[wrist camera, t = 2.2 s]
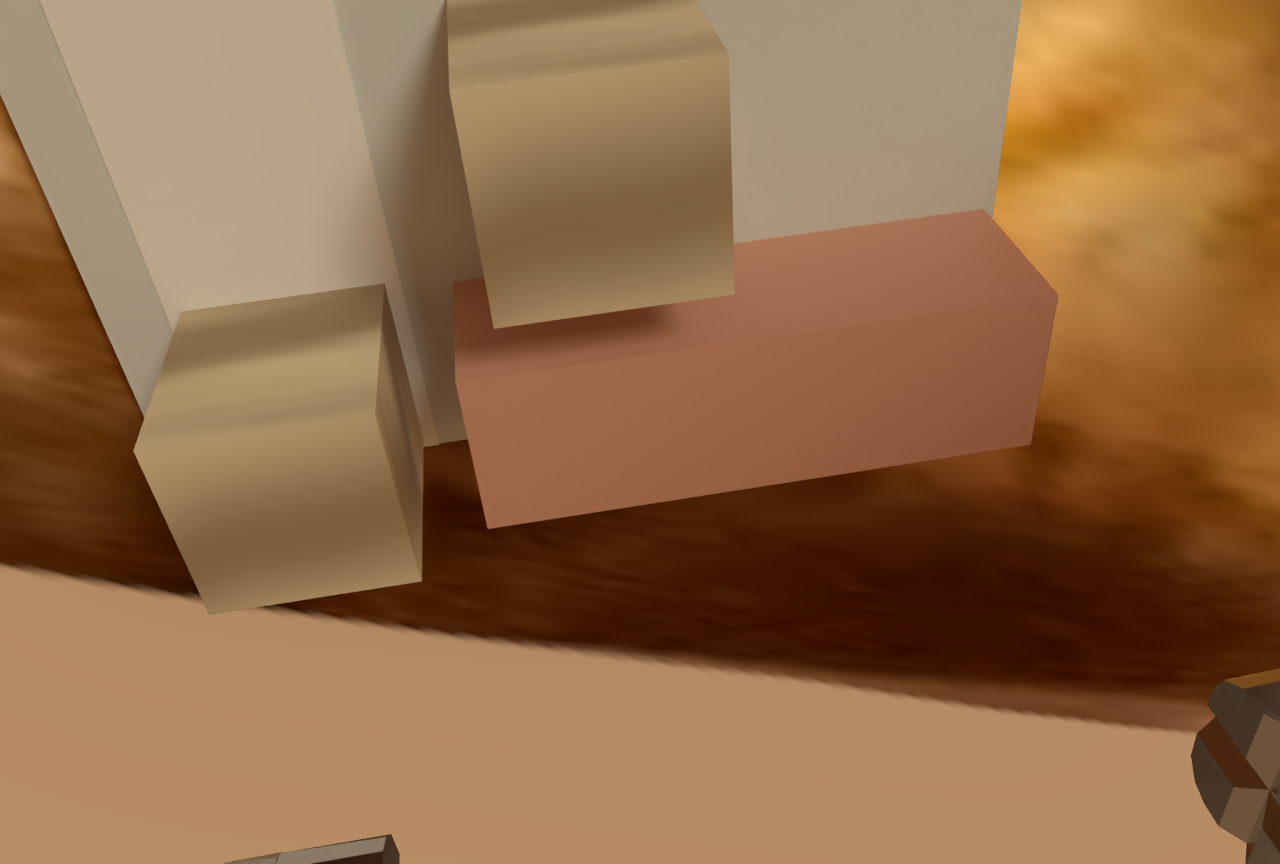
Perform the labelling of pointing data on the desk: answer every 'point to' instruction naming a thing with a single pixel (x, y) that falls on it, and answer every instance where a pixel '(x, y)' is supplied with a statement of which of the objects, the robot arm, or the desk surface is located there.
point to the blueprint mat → (439, 147)
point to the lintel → (761, 372)
